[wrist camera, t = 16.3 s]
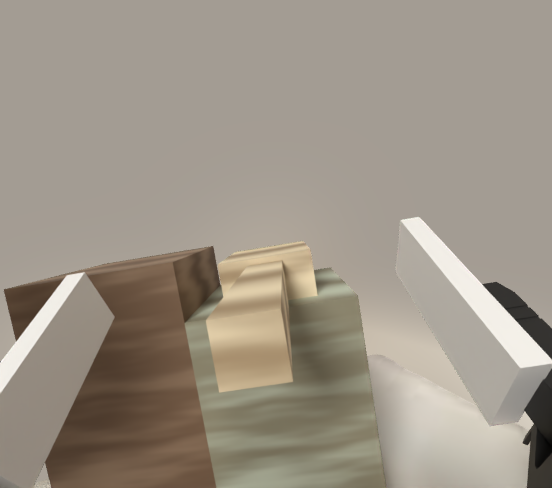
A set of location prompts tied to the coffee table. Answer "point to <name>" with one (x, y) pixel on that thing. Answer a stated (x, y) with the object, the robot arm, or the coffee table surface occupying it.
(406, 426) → the coffee table surface
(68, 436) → the stand
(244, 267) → the light wooden block
